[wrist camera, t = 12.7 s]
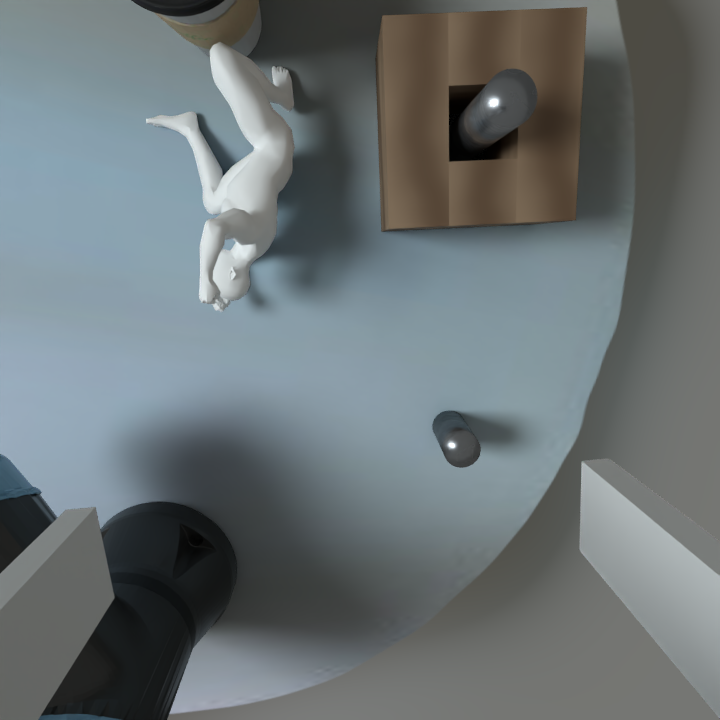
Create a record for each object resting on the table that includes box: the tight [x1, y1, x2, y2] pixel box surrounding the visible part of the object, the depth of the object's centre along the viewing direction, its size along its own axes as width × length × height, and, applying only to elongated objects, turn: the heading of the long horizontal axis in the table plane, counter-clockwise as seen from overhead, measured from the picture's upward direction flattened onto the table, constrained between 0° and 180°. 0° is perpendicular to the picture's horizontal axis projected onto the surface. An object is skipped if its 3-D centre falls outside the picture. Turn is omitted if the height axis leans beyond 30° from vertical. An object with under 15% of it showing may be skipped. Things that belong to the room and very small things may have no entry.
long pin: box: [449, 69, 537, 162], centre depth 36 cm, size 3×3×14 cm
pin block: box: [376, 7, 587, 231], centre depth 39 cm, size 14×14×8 cm
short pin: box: [433, 411, 481, 467], centre depth 46 cm, size 3×3×6 cm
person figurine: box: [146, 42, 295, 312], centre depth 39 cm, size 13×13×18 cm
